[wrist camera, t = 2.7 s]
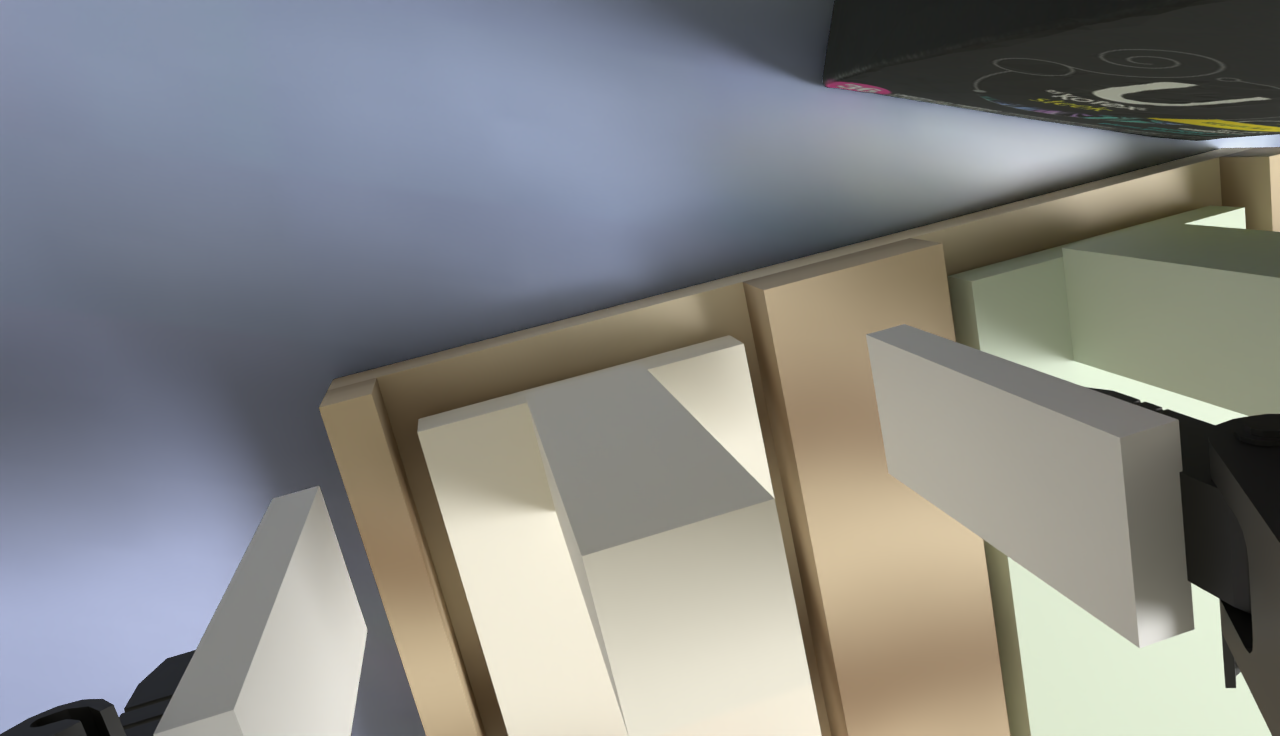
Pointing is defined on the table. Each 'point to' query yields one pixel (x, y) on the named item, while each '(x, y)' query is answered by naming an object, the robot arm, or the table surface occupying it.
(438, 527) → the lane board
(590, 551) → the strip cream
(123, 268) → the table surface
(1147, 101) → the tampon box
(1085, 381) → the pale green l-shaped bracket
